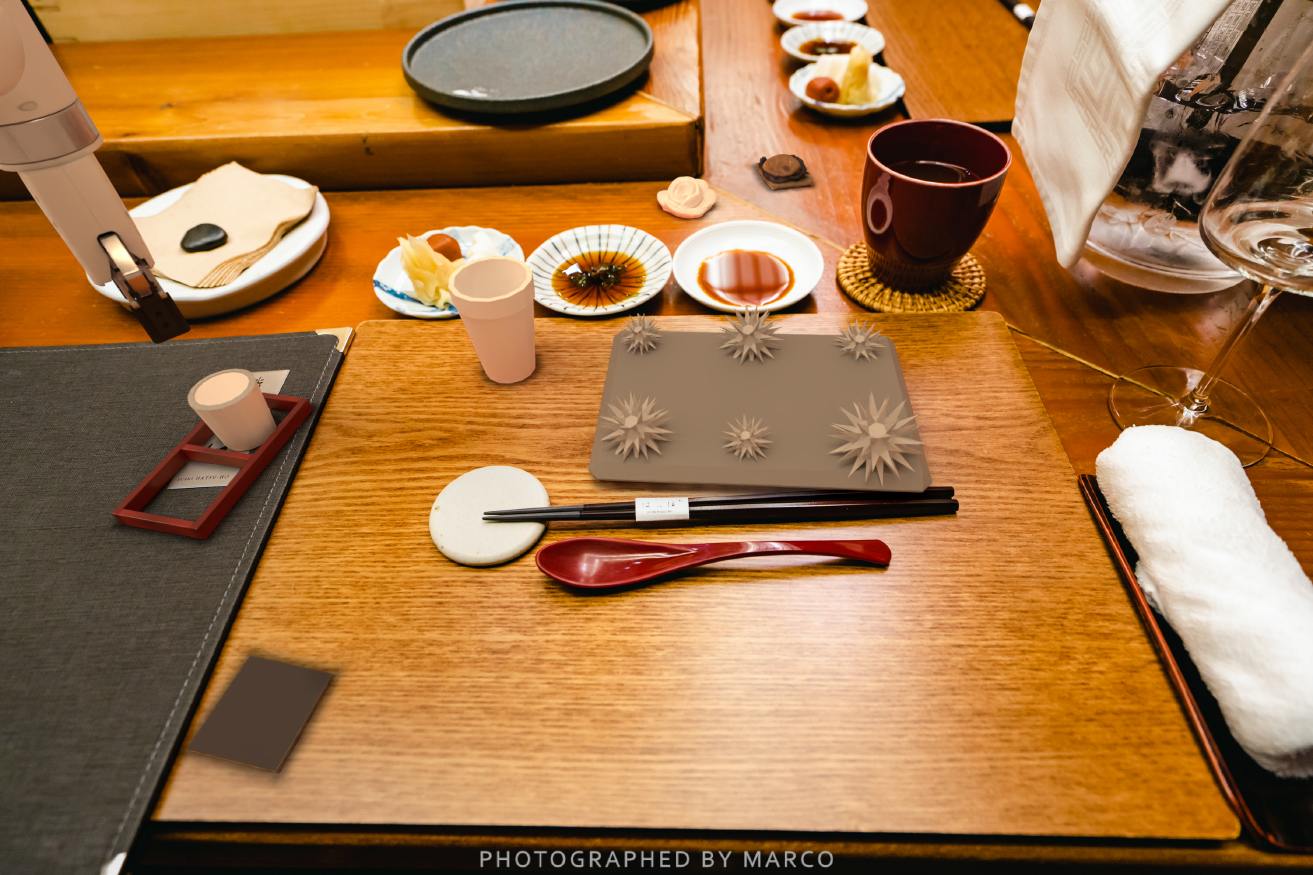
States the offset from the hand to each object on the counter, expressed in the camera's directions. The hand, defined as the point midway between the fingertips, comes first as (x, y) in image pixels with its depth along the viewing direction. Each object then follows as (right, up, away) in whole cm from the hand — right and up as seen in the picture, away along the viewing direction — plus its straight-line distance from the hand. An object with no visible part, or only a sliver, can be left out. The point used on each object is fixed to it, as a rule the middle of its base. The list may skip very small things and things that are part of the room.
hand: (157, 314), depth 65 cm
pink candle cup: (+1, -12, +13) cm, 18 cm away
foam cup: (+30, -3, +21) cm, 36 cm away
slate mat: (+16, -34, -10) cm, 39 cm away
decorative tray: (+59, -10, +13) cm, 61 cm away
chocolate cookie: (+71, +35, +57) cm, 97 cm away
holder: (0, -15, +10) cm, 18 cm away
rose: (+53, +27, +50) cm, 78 cm away
